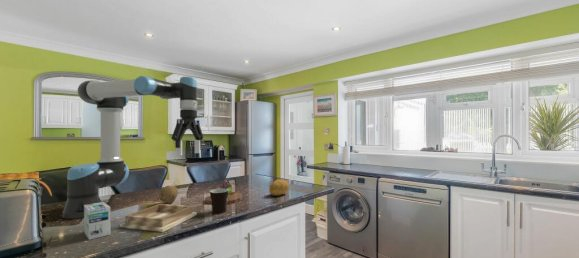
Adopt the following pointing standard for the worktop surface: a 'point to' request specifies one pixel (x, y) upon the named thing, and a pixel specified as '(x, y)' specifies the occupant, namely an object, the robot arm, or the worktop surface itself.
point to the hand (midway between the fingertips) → (188, 154)
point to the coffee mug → (219, 200)
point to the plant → (232, 196)
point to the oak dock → (158, 217)
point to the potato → (278, 187)
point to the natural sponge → (168, 194)
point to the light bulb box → (96, 220)
